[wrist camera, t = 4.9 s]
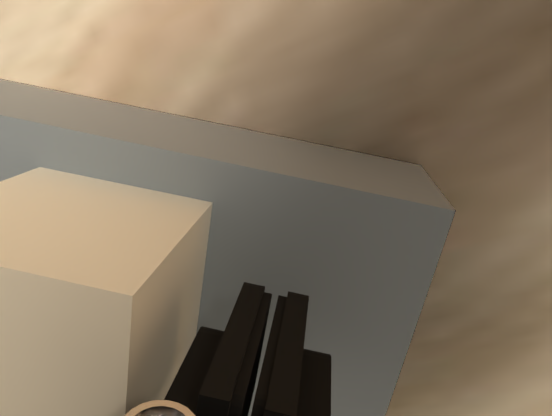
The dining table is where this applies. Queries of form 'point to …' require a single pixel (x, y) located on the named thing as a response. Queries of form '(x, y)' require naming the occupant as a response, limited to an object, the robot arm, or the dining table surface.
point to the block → (95, 292)
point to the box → (265, 221)
